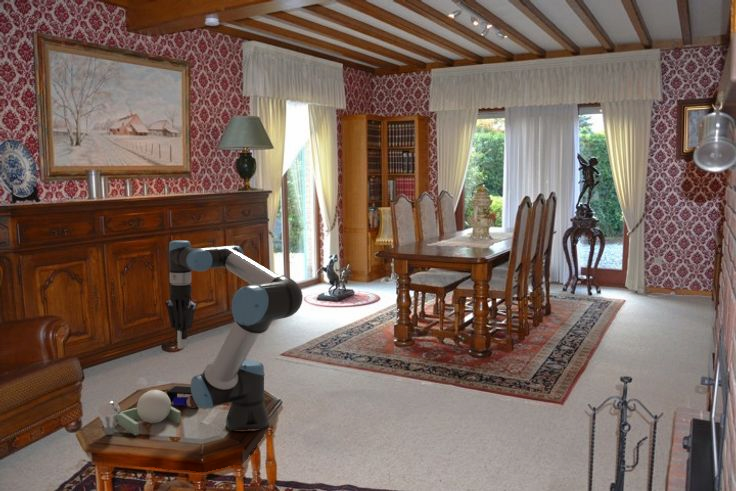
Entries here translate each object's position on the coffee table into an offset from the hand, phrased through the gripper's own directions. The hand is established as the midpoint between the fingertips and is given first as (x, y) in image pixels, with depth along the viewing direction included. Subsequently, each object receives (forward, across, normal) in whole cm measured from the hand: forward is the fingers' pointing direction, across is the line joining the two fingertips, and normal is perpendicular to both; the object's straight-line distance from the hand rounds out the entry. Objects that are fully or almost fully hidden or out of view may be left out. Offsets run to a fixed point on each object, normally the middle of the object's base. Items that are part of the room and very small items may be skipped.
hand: (181, 347), depth 225 cm
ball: (+20, -6, -8) cm, 23 cm away
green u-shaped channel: (+26, -7, -10) cm, 29 cm away
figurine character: (+26, -8, +9) cm, 29 cm away
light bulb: (+26, -12, -23) cm, 37 cm away
